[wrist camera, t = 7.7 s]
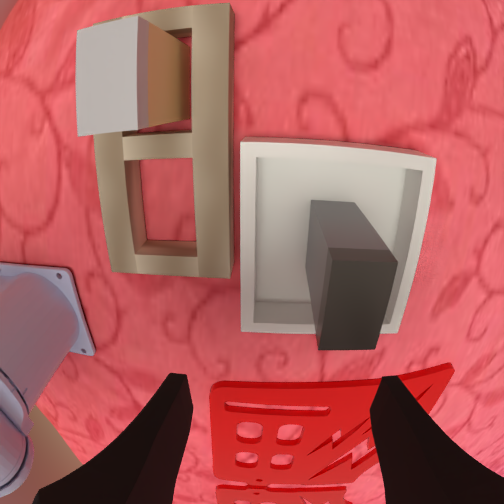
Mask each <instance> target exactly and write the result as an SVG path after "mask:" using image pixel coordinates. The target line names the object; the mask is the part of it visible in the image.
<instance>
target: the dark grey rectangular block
mask: <svg viewBox="0 0 504 504" xmlns="http://www.w3.org/2000/svg"><path fill="white" fill-rule="evenodd" d="M397 266H398V261H397V260H396V258H395V257H394V255H393V254H392V253H391V251H390V250H389V248H388V247H387V245H386V244H385V243H384V241H383V240H382V238H381V237H380V236H379V234H378V233H377V232H376V230H375V229H374V227H373V226H372V225H371V223H370V222H369V221H368V219H367V218H366V217H365V215H364V214H363V213H362V211H361V210H360V209H359V207H358V206H357V205H356V204H355V202H341V201H324V200H311V205H310V218H309V230H308V242H307V253H306V264H305V269H306V275H307V281H308V287H309V293H310V299H311V306H312V312H313V319H314V325H315V332H316V339H317V346H318V350H371V349H375V348H376V344H377V341H378V338H379V335H380V331H381V328H382V324H383V321H384V317H385V314H386V310H387V306H388V303H389V299H390V295H391V291H392V287H393V283H394V279H395V274H396V270H397Z"/></svg>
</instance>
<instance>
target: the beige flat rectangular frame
mask: <svg viewBox="0 0 504 504" xmlns="http://www.w3.org/2000/svg"><path fill="white" fill-rule="evenodd" d="M134 16H140V17H141V18H143V19H145V20H147V21H148V22H150V23H152V24H154V25H155V26H157V27H159V28H160V29H162V30H164V31H165V32H167V33H169V34H170V35H172V36H173V37H175V38H182V37H192V68H191V102H192V130H176V131H159V132H144V133H138V130H130V131H120V132H110V133H102V134H93V135H94V149H95V160H96V171H97V180H98V189H99V197H100V204H101V211H102V218H103V225H104V231H105V237H106V243H107V248H108V254H109V259H110V264H111V269H112V272H122V273H137V274H153V275H170V276H188V277H207V278H228V279H230V277H231V273H232V269H233V265H234V179H233V110H234V21H235V14H234V11H233V9H232V7H231V5H230V3H219V4H205V5H194V6H185V7H176V8H169V9H162V10H156V11H150V12H144V13H139V14H134V15H129V16H124V17H119V18H115V19H111V20H107V21H103V22H99V23H95V24H93V26H95V25H99V24H103V23H107V22H111V21H115V20H120V19H124V18H129V17H134ZM165 158H193V184H194V206H195V225H196V241H166V240H147V236H146V228H145V219H144V210H143V200H142V189H141V177H140V164H139V160H142V159H165Z"/></svg>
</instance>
